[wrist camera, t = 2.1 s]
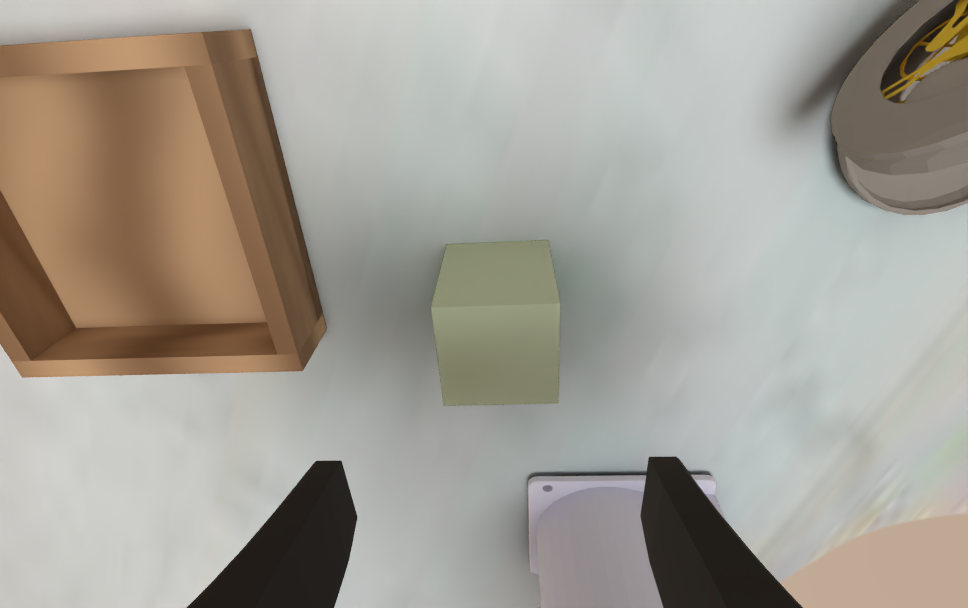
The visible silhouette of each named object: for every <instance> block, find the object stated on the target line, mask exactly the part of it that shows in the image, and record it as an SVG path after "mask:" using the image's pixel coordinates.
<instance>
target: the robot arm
mask: <svg viewBox="0 0 968 608" xmlns="http://www.w3.org/2000/svg"><path fill="white" fill-rule="evenodd" d="M546 485H548V486H546ZM716 487H717V484H716V482H715V479H714V478H713V477H712V476H710V475H690V473H689V472H688V470H687V469H686V468H685V466H684V465H683V463H682V462H681V461H680V460H679V459H678V458H677V457H649V461H648V467H647V474H646V475H624V476H536V477H533V478H531V479H530V480H529V481H528V514H529V564H530V571H531V572H532V573H533V574H537V575H539V587H540V604H541V608H803V607H802V606H801V605H800V604H799V603H798V602H797V601H796V600H795V599H794V598H793V597H792V596H791V595H790V594H789V593H788V592H787V591H786V590H785V588H784V587H783V586H782V585H781V584H780V583H779V582H778V581H777V580H776V579H775V577H774V576H773V575H772V574H771V573H770V572H769V571H768V570H767V569H766V568H765V566H764V565H763V564H762V563H761V562H760V561H759V560H758V559H757V557H756V556H755V555H754V554H753V553H752V552H751V550H750V549H749V548H748V547H747V546H746V545H745V543H744V542H743V541H742V540H741V538H740V537H739V536H738V535H737V534H736V532H735V531H734V530H733V529H732V528H731V526H730V525H729V524H728V523H727V522H726V520H725V518H724V515H723V513H722V511H721V509H720V506H719V504H718V502H717V499H716V497H715V491H716ZM356 521H357V514H356V511H355V507H354V504H353V500H352V497H351V493H350V489H349V486H348V482H347V479H346V475H345V472H344V468H343V465H342V461H316V462H315V463H314V464H313V465H312V466H311V467H310V469H309V470H308V471H307V472H306V474H305V475H304V476H303V477H302V479H301V480H300V481H299V482H298V484H297V485H296V486H295V487H294V489H293V490H292V491H291V492H290V494H289V495H288V496H287V497H286V499H285V500H284V501H283V502H282V503H281V505H280V506H279V507H278V508H277V509H276V511H275V512H274V513H273V514H272V516H271V517H270V518H269V519H268V520H267V521H266V523H265V524H264V525H263V526H262V527H261V528H260V530H259V531H258V532H257V533H256V534H255V535H254V537H253V538H252V539H251V540H250V541H249V542H248V544H247V545H246V546H245V547H244V548H243V549H242V550H241V551H240V552H239V554H238V555H237V556H236V557H235V558H234V559H233V560H232V561H231V562H230V563H229V564H228V565H227V567H226V568H225V569H224V570H223V571H222V572H221V573H220V574H219V575H218V576H217V577H216V578H215V580H214V581H213V582H212V583H211V584H210V585H209V586H208V587H207V588H206V589H205V590H204V591H203V592H202V593H201V594H200V595H199V596H198V597H197V598H196V599H195V600H194V601H193V602H192V603H191V604H190V605H189V606H188V607H187V608H334V606H335V603H336V600H337V597H338V593H339V590H340V587H341V584H342V581H343V578H344V574H345V571H346V568H347V565H348V561H349V557H350V552H351V547H352V542H353V537H354V532H355V526H356Z"/></svg>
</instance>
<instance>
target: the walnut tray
mask: <svg viewBox="0 0 968 608" xmlns="http://www.w3.org/2000/svg"><path fill="white" fill-rule="evenodd" d="M326 329H327V328H326V324H325V320H324V316H323V313H322V309H321V305H320V301H319V297H318V293H317V289H316V285H315V281H314V277H313V273H312V269H311V265H310V261H309V258H308V254H307V250H306V246H305V242H304V238H303V234H302V230H301V226H300V222H299V218H298V214H297V210H296V207H295V203H294V199H293V195H292V191H291V187H290V183H289V179H288V175H287V171H286V167H285V163H284V159H283V155H282V152H281V148H280V144H279V140H278V136H277V132H276V128H275V124H274V120H273V116H272V112H271V108H270V104H269V100H268V97H267V93H266V89H265V85H264V81H263V77H262V73H261V69H260V65H259V61H258V57H257V53H256V49H255V45H254V42H253V38H252V34H251V30H233V31H215V32H198V33H183V34H168V35H153V36H138V37H123V38H108V39H93V40H78V41H63V42H48V43H33V44H18V45H3V46H0V344H1V346H2V347H3V349H4V350H5V352H6V353H7V355H8V356H9V358H10V359H11V361H12V362H13V364H14V365H15V367H16V369H17V370H18V372H19V373H20V375H21V376H22V377H62V376H106V375H149V374H193V373H236V372H280V371H303V370H304V368H305V366H306V364H307V363H308V361H309V359H310V357H311V356H312V354H313V352H314V350H315V349H316V347H317V345H318V343H319V342H320V340H321V338H322V336H323V335H324V333H325V331H326Z"/></svg>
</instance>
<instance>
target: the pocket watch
mask: <svg viewBox="0 0 968 608" xmlns="http://www.w3.org/2000/svg"><path fill="white" fill-rule="evenodd" d="M831 125H832V133H833V135H834V137H835V140H836V142H837V144H838V145H837V152H838V157H839V162H840V167H841V171H842V173H843V175H844V177H845V179H846V180H847V182H848V184H849V185H850V186H851V187H852V189H853V190H854V191H855V192H856V193H857V194H858V195H859V196H860V197H861V198H862V199H863V200H865V201H867V202H869V203H871V204H873V205H876V206H878V207H880V208H882V209H884V210H886V211H890V212H894V213H899V214H903V215H925V214H931V213H937V212H942V211H948V210H950V209H953V208H956V207H958V206H961V205H963V204H966V203H968V0H919V1H918V2H917V3H916V4H915V5H914V6H912V7H911V8H910V9H909V10H908V11H907V12H905V13H904V14H903V15H902V16H901V17H900V18H898V19H897V20H896V21H895V22H894V23H893V24H892V25H891V26H890V27H889V28H888V29H887V30H886V31H885V32H884V33H883V34H882V35H881V36H880V37H879V38H878V39H877V40H876V41H875V42H874V44H873V45H872V46H871V47H870V48H869V49H868V50H867V51H866V53H865V54H864V55H863V56H862V57H861V58H860V60H859V61H858V63H857V64H856V65H855V67H854V68H853V70H852V71H851V72H850V74H849V75H848V77H847V78H846V79H845V81H844V83H843V85H842V87H841V89H840V91H839V93H838V95H837V97H836V100H835V102H834V106H833V110H832V114H831Z"/></svg>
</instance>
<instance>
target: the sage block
mask: <svg viewBox="0 0 968 608" xmlns="http://www.w3.org/2000/svg"><path fill="white" fill-rule="evenodd" d="M431 313H432V321H433V328H434V336H435V343H436V351H437V359H438V366H439V374H440V382H441V389H442V397H443V404H444V406H456V405H505V404H553V403H558V397H559V345H560V299H559V294H558V289H557V283H556V278H555V273H554V268H553V262H552V257H551V252H550V246H549V241H548V240H535V241H510V242H485V243H461V244H447V246H446V250H445V254H444V258H443V262H442V266H441V270H440V273H439V277H438V281H437V285H436V289H435V293H434V297H433V301H432V305H431Z"/></svg>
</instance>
